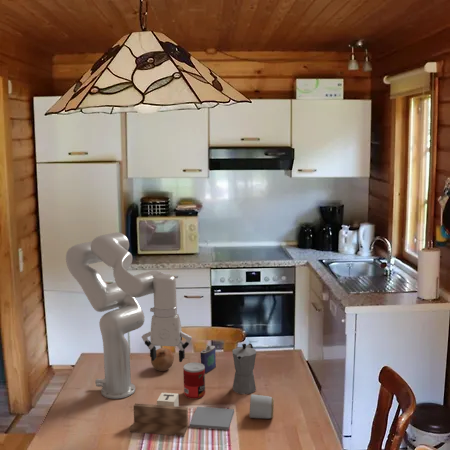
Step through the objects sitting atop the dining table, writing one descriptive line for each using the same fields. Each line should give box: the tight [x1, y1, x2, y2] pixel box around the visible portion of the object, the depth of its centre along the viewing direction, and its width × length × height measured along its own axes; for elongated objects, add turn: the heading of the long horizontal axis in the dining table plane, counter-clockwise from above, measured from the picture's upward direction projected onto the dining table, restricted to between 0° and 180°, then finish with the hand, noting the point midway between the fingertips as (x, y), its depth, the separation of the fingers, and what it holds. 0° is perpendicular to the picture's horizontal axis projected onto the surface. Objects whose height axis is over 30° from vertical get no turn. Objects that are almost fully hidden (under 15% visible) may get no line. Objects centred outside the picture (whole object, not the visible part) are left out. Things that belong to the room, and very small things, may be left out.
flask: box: [200, 344, 217, 375], centre depth 224 cm, size 9×3×11 cm, turn 147°
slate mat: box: [189, 406, 235, 431], centre depth 185 cm, size 13×12×1 cm
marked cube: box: [156, 392, 180, 407], centre depth 189 cm, size 6×6×6 cm
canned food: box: [182, 362, 206, 400], centre depth 203 cm, size 8×8×11 cm
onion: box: [150, 347, 175, 372], centre depth 225 cm, size 10×9×10 cm
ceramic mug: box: [249, 393, 275, 420], centre depth 188 cm, size 11×8×8 cm
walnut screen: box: [129, 403, 189, 437], centre depth 179 cm, size 18×6×7 cm, turn 80°
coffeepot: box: [232, 342, 257, 395], centre depth 207 cm, size 15×9×18 cm, turn 159°
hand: (167, 359), depth 187 cm, fingers open, 9 cm apart
